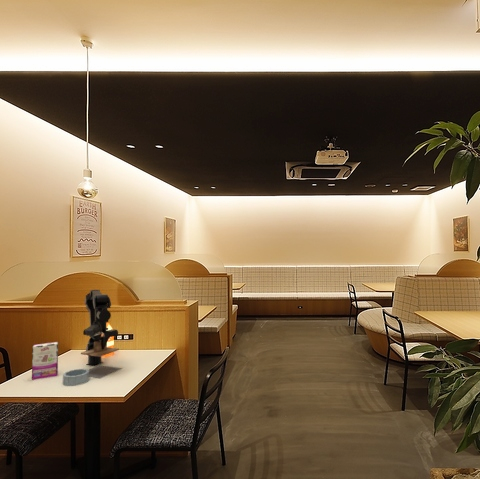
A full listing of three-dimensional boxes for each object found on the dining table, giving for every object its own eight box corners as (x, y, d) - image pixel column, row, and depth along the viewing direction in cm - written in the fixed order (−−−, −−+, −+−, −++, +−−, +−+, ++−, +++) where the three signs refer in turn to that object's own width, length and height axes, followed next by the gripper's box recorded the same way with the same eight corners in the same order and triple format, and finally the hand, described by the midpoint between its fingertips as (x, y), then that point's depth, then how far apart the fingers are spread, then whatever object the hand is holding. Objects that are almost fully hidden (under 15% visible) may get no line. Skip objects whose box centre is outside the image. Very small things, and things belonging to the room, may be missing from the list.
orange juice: (103, 357, 195) (104, 324, 196) (93, 356, 199) (93, 323, 200) (113, 354, 202) (114, 321, 203) (103, 352, 206) (104, 320, 207)
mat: (75, 375, 165) (75, 374, 165) (99, 365, 180) (99, 365, 180) (99, 379, 159) (100, 378, 159) (122, 369, 174) (122, 368, 174)
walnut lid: (80, 354, 166) (81, 342, 167) (100, 347, 178) (100, 337, 179) (100, 356, 161) (100, 344, 162) (118, 350, 174) (119, 338, 174)
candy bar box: (57, 373, 168) (58, 341, 169) (57, 376, 163) (58, 343, 164) (32, 377, 163) (33, 344, 164) (31, 380, 158) (32, 346, 159)
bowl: (57, 384, 152) (57, 375, 152) (76, 377, 162) (77, 367, 163) (74, 387, 148) (75, 377, 148) (93, 379, 158) (93, 370, 159)
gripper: (74, 320, 167) (74, 351, 166) (102, 322, 160) (102, 354, 159) (92, 317, 177) (91, 346, 176) (119, 318, 171) (118, 349, 169)
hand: (100, 348), depth 170 cm, fingers closed on walnut lid, 3 cm apart
